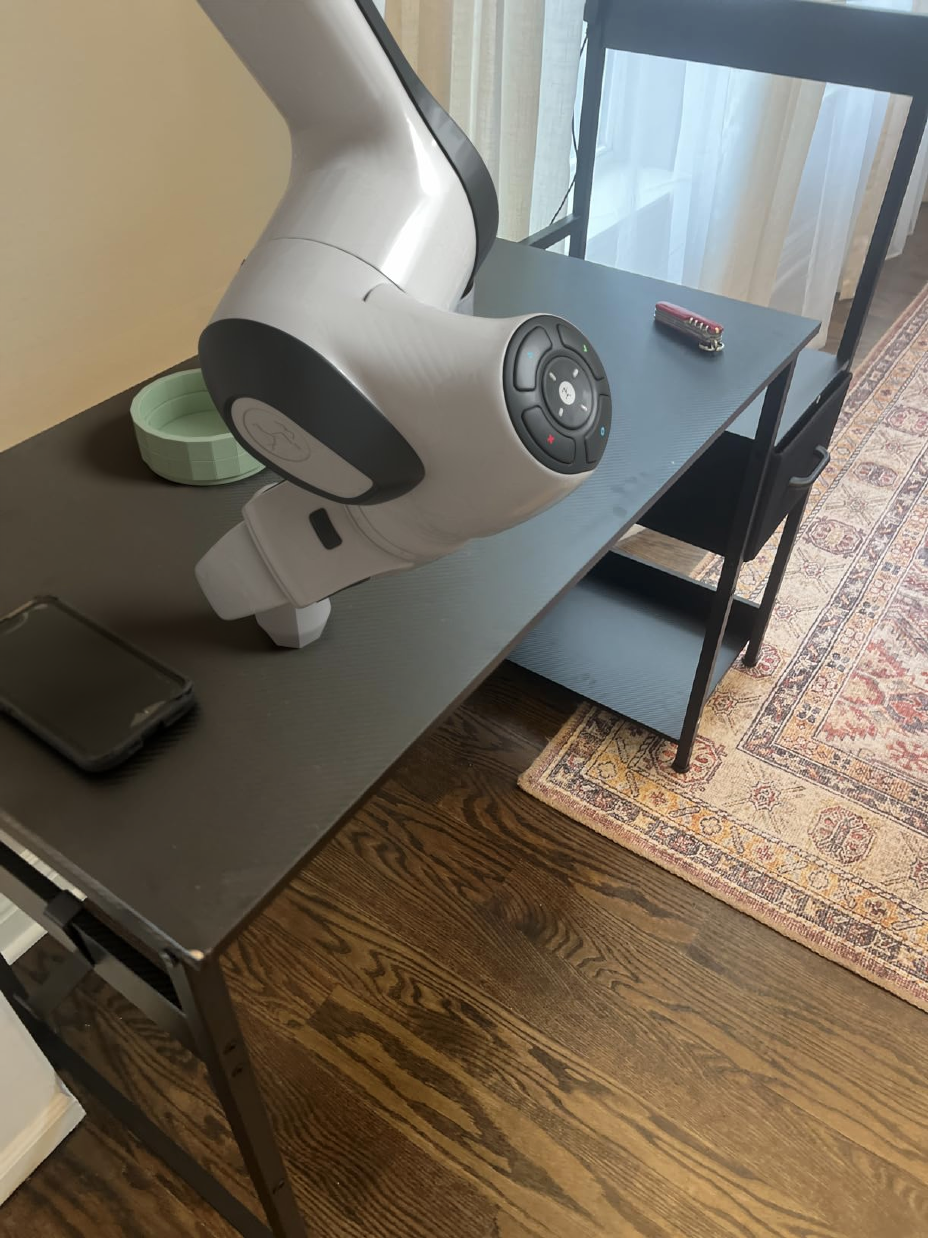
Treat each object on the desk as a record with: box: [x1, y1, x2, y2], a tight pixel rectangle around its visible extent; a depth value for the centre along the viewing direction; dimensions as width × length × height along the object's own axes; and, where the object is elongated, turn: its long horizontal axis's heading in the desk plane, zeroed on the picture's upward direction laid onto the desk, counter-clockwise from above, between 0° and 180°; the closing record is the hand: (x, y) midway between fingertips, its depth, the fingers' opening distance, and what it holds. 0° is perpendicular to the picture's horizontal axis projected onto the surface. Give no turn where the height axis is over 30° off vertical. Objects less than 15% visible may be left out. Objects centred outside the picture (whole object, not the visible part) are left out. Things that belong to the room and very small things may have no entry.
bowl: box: [129, 367, 267, 486], centre depth 90 cm, size 14×14×5 cm
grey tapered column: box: [250, 482, 332, 649], centre depth 68 cm, size 6×6×13 cm
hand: (308, 546), depth 65 cm, fingers open, 8 cm apart
